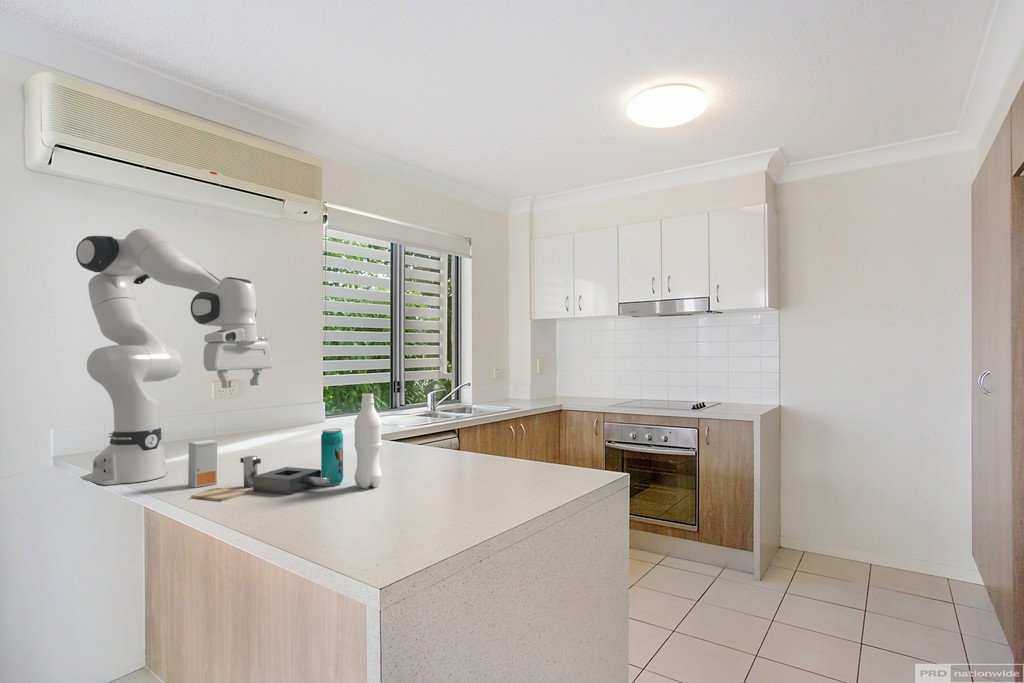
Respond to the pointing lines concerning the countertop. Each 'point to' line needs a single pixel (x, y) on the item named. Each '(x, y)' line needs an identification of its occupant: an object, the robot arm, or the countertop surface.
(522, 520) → the countertop surface
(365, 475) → the water bottle
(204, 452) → the skincare box
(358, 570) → the countertop surface
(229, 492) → the pad
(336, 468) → the beverage can
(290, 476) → the grey handled square frame
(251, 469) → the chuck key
